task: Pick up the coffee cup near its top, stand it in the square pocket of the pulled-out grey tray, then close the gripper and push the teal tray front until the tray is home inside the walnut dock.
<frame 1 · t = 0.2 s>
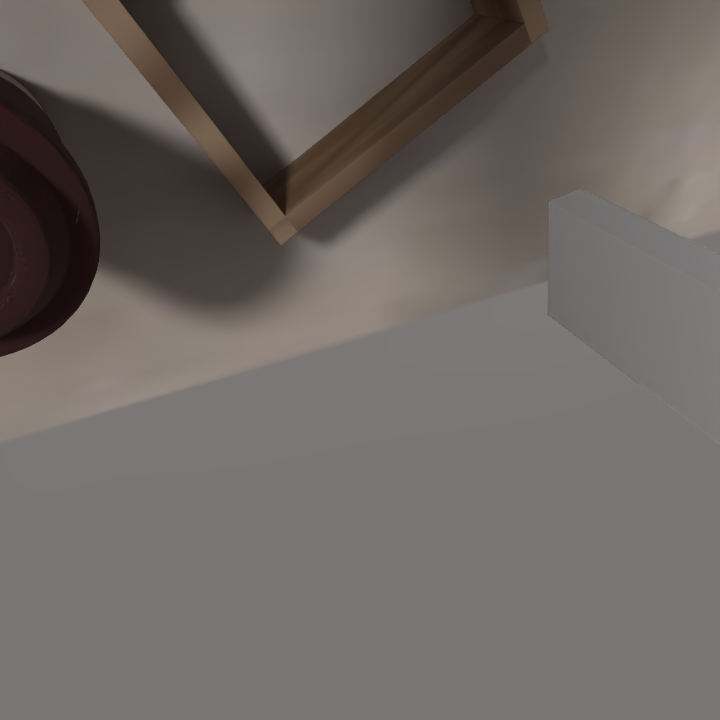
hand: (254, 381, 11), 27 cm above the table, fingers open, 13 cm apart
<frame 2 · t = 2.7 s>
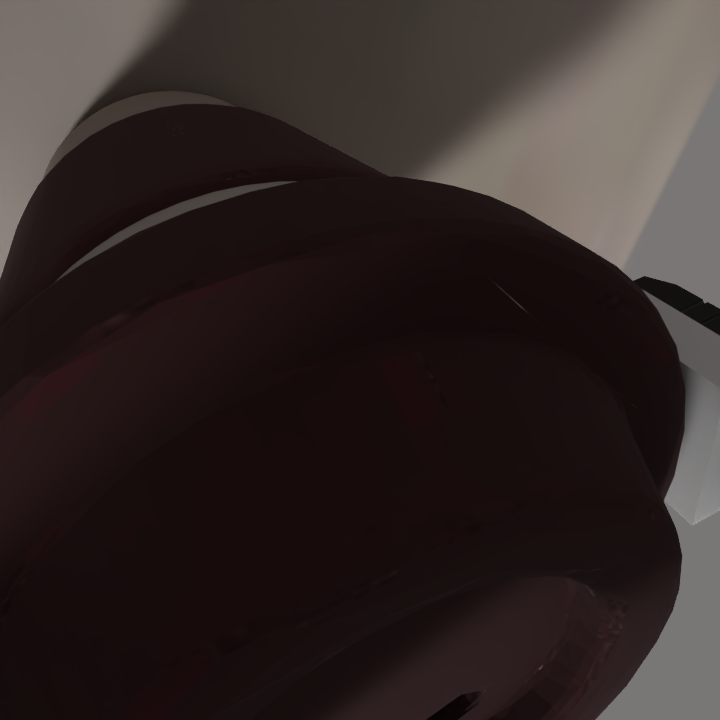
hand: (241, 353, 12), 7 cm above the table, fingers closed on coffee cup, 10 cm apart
coffee cup: (179, 220, 18), on the table, touching gripper
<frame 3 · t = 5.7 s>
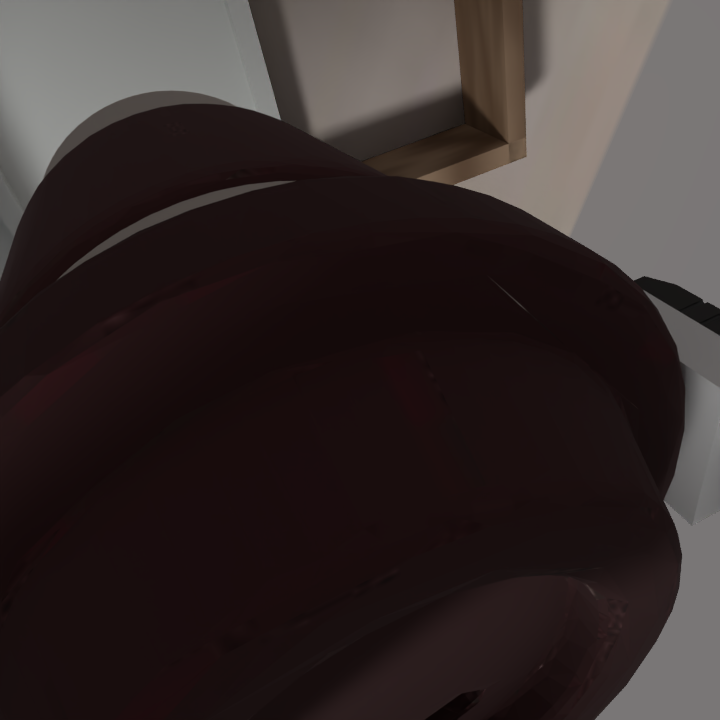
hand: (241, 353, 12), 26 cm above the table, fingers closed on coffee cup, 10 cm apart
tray: (59, 122, 27), point 4 cm above the table, slide at 12.0 cm
coffee cup: (179, 220, 18), point 18 cm above the table, touching gripper
housing: (318, 19, 33), on the table
when the fingers open (10 cm above the table, at t = 8.8 s): coffee cup stays where it is, resting on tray.
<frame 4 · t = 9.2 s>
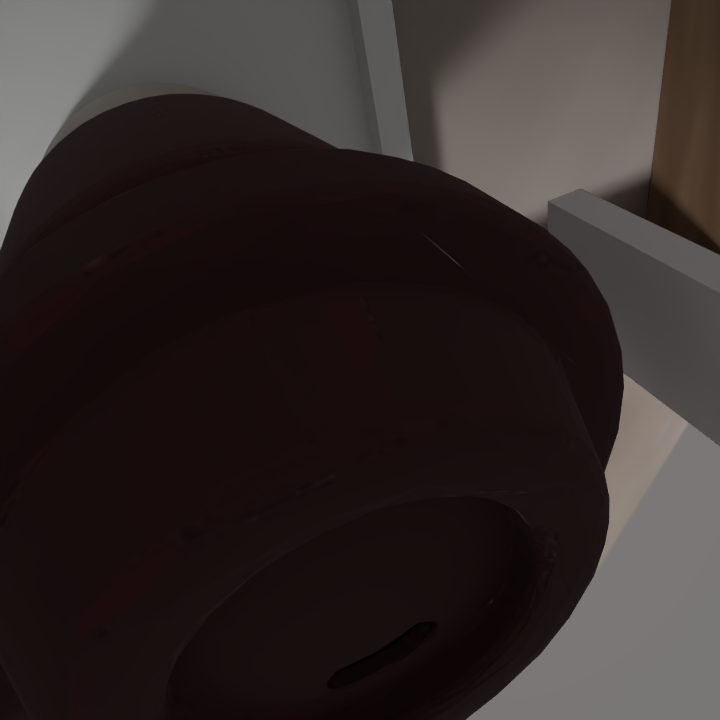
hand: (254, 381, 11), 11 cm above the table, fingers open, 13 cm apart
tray: (92, 287, 16), point 5 cm above the table, slide at 11.9 cm, touching coffee cup
coffee cup: (170, 208, 19), point 1 cm above the table, touching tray
housing: (480, 88, 22), on the table
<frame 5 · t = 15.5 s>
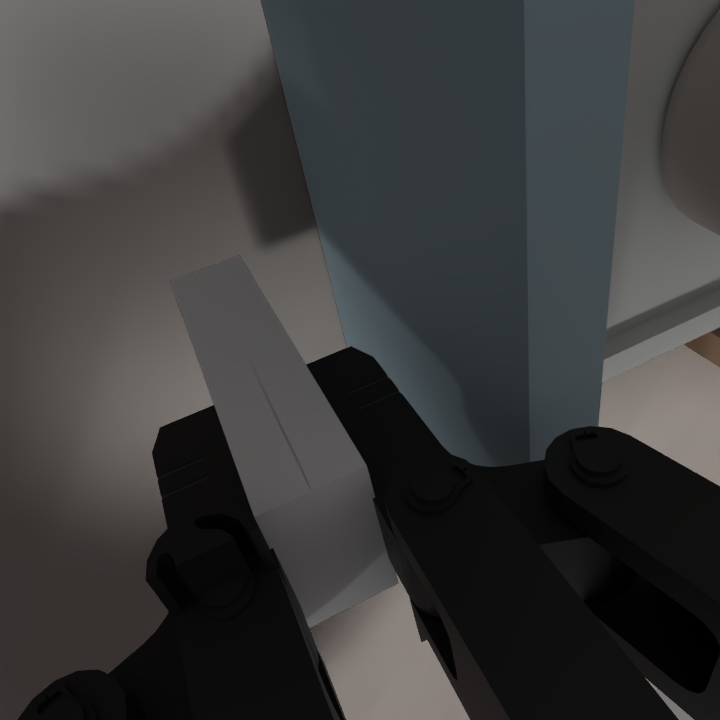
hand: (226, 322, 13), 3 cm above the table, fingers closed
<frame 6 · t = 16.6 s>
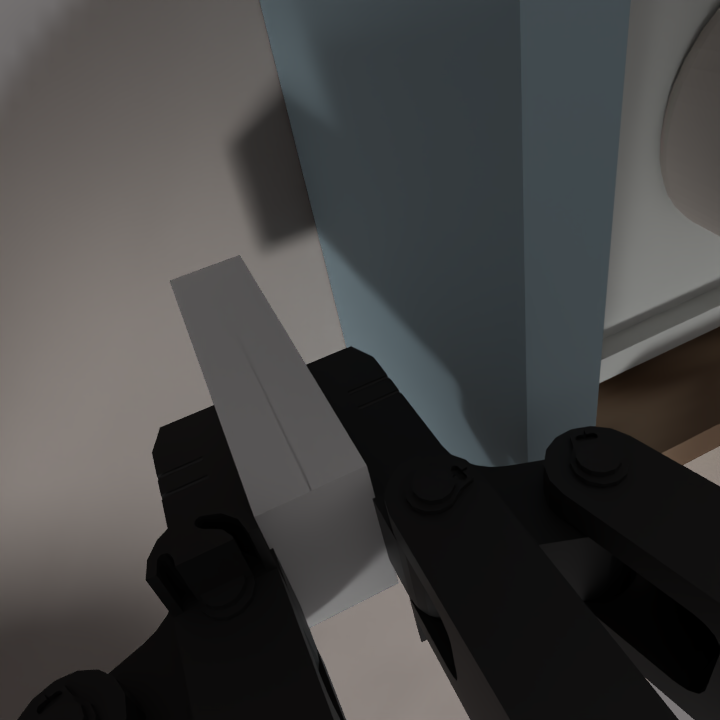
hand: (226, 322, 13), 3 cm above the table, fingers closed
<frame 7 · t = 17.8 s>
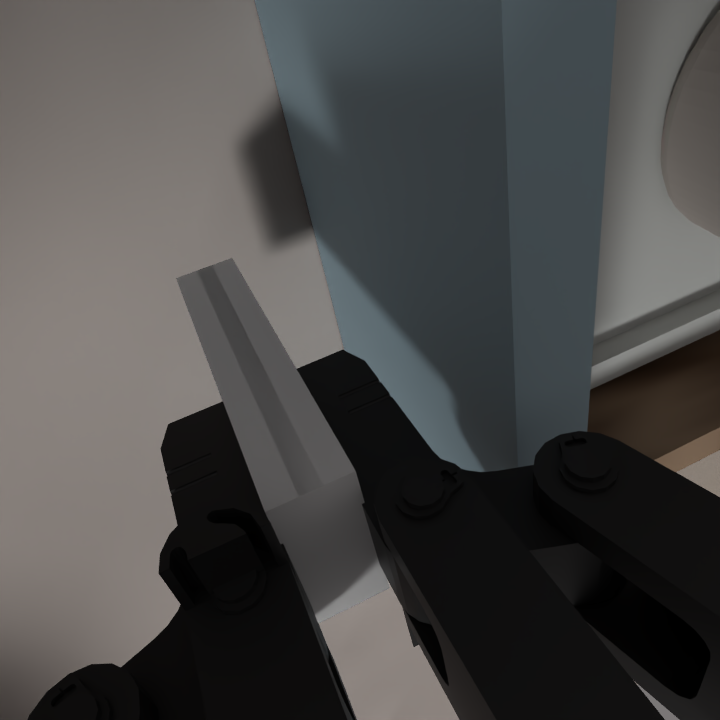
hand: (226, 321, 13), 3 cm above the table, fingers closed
housing: (702, 92, 18), on the table
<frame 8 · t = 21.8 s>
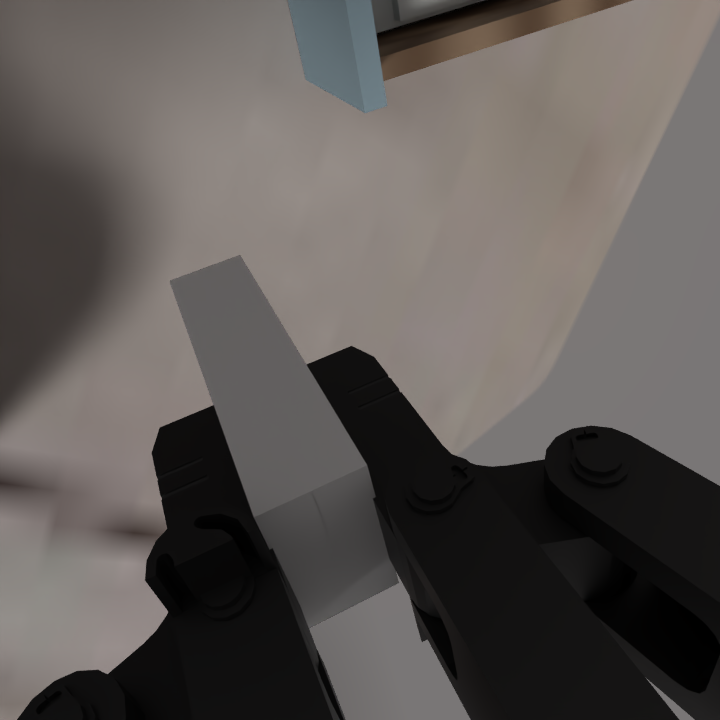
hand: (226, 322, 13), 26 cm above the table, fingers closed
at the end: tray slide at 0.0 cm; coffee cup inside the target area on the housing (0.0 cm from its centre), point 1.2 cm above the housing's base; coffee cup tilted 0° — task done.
